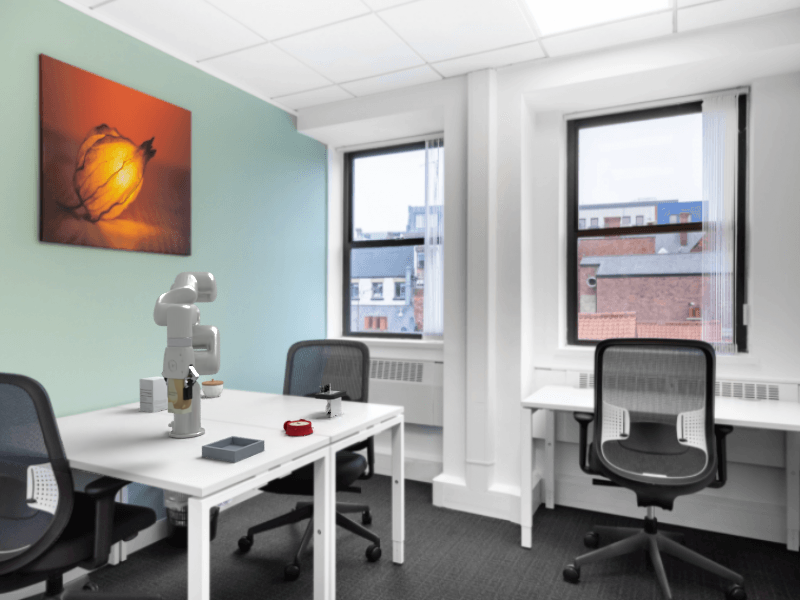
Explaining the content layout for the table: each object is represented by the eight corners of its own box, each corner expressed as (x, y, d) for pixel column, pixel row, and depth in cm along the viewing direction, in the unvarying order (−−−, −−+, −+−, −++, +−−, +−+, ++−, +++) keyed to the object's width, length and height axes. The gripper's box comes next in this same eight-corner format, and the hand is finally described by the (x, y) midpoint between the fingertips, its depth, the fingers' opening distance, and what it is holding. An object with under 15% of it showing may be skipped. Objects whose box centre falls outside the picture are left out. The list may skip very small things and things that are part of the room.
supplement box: (155, 407, 249) (155, 375, 249) (169, 409, 245) (169, 377, 245) (138, 411, 241) (138, 378, 241) (152, 413, 237) (152, 379, 237)
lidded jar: (227, 395, 280) (227, 377, 280) (217, 399, 270) (217, 380, 270) (208, 394, 282) (208, 377, 282) (197, 398, 271) (197, 380, 271)
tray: (201, 456, 171) (201, 446, 171) (232, 445, 184) (232, 435, 184) (234, 462, 165) (234, 451, 165) (264, 450, 178) (264, 440, 178)
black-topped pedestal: (320, 406, 250) (320, 378, 250) (370, 411, 240) (369, 382, 240) (285, 419, 225) (285, 388, 225) (338, 425, 214) (338, 392, 214)
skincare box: (167, 413, 169) (166, 375, 169) (177, 410, 173) (177, 373, 173) (182, 414, 167) (182, 376, 166) (192, 412, 171) (192, 374, 170)
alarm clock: (290, 429, 193) (279, 412, 206) (289, 444, 195) (279, 427, 208) (317, 425, 198) (305, 409, 211) (316, 441, 200) (304, 424, 212)
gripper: (151, 342, 170) (151, 398, 170) (189, 345, 162) (190, 403, 163) (170, 341, 177) (170, 394, 177) (208, 343, 169) (208, 398, 169)
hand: (180, 398), depth 170 cm, fingers closed on skincare box, 6 cm apart
